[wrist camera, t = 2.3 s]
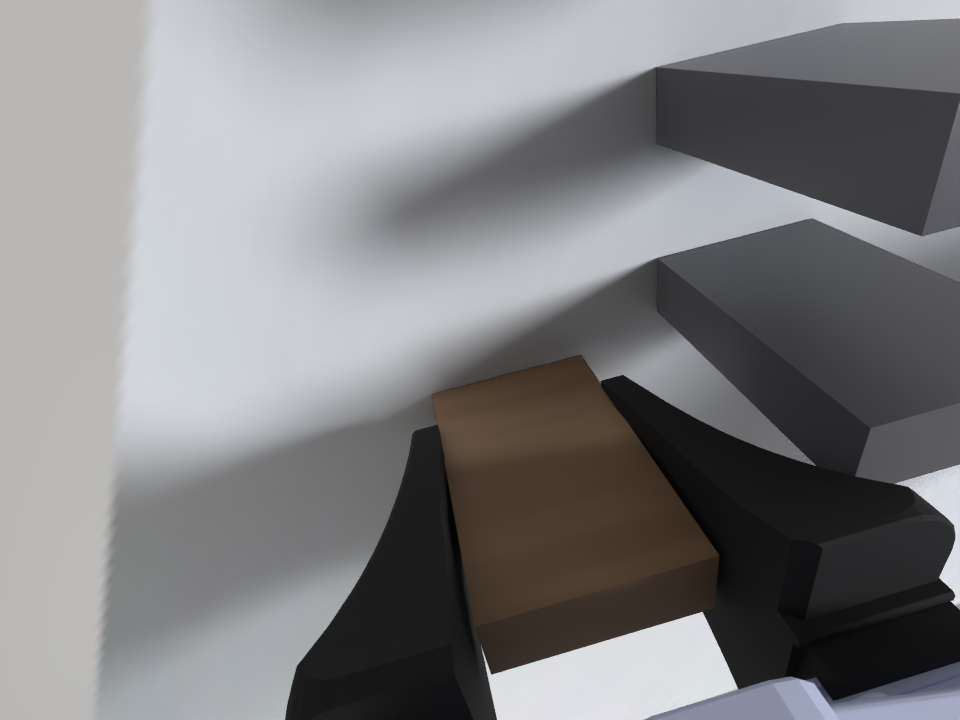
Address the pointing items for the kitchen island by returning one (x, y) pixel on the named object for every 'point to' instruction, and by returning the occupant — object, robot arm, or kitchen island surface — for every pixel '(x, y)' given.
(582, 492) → the domino
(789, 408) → the domino
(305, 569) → the kitchen island surface
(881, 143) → the domino
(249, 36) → the kitchen island surface
